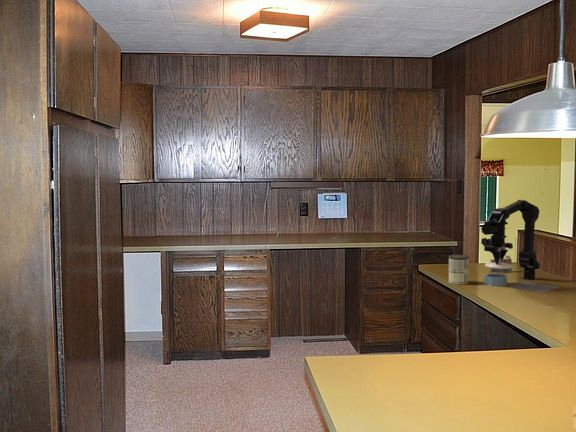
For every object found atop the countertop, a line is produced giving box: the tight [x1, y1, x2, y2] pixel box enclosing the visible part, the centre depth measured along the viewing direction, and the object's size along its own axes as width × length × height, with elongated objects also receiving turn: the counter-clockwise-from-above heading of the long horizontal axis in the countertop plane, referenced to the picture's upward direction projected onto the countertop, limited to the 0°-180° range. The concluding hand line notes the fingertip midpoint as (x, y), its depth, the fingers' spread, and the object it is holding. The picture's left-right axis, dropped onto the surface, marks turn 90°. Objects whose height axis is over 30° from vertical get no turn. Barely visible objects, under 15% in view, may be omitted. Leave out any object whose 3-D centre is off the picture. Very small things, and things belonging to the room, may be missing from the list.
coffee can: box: [448, 254, 470, 285], centre depth 314 cm, size 10×10×14 cm
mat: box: [508, 281, 560, 293], centre depth 299 cm, size 18×18×1 cm
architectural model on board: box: [489, 255, 513, 273], centre depth 342 cm, size 11×3×10 cm, turn 91°
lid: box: [484, 258, 513, 269], centre depth 305 cm, size 13×13×4 cm
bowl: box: [483, 273, 508, 287], centre depth 307 cm, size 11×11×5 cm
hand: (498, 263), depth 305 cm, fingers closed on lid, 3 cm apart
